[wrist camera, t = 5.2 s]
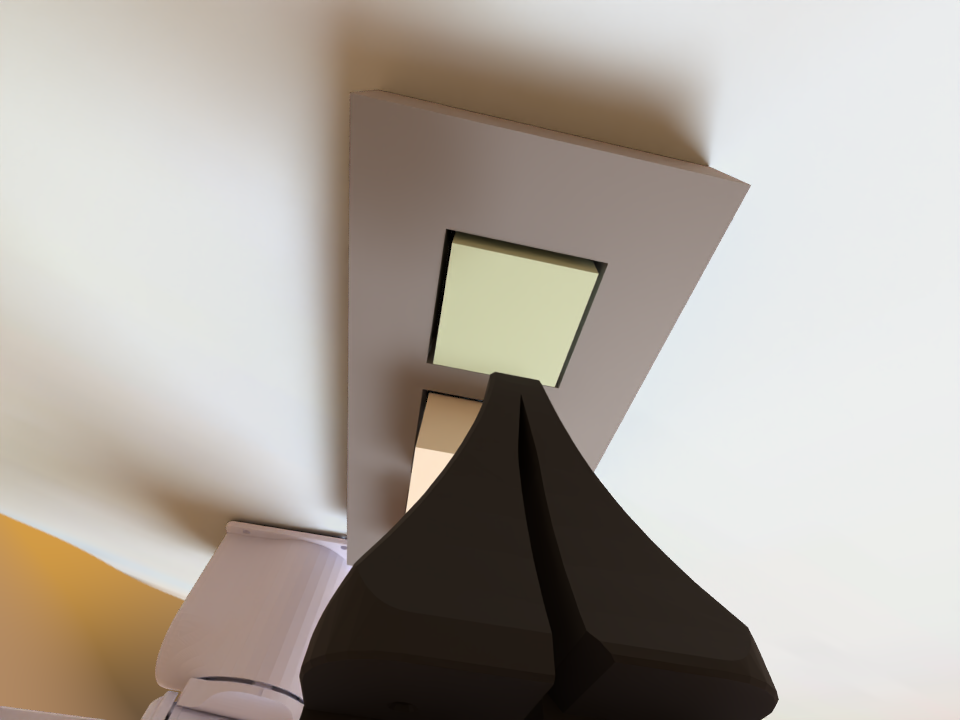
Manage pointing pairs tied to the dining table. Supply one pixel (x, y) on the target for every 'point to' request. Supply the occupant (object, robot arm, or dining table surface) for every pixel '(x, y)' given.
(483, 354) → the green key
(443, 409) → the cream key
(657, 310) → the board
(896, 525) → the dining table surface
